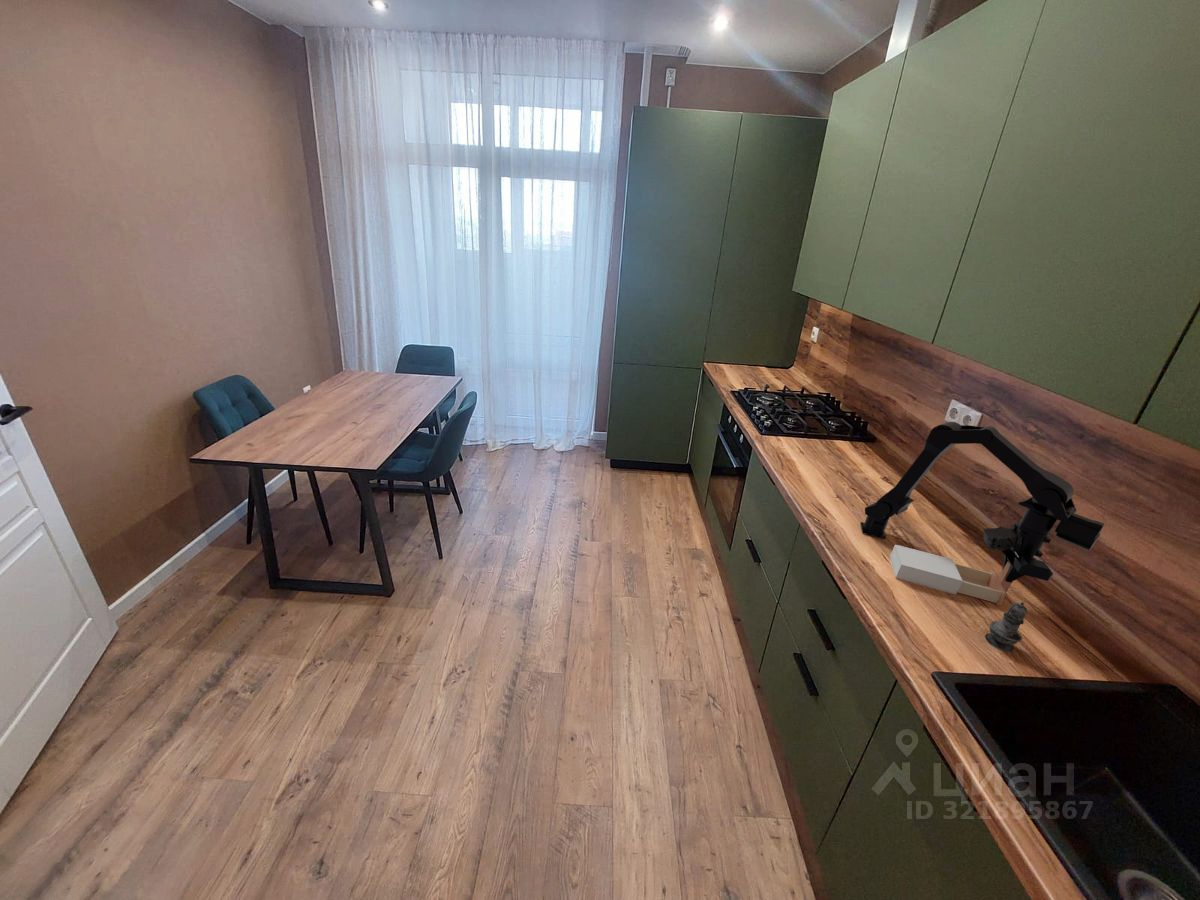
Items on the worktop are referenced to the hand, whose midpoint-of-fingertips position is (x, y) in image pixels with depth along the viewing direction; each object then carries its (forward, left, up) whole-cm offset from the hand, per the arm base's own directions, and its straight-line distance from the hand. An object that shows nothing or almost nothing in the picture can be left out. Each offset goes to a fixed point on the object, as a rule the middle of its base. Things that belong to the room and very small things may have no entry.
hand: (1005, 578), depth 122 cm
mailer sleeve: (0, -17, -6) cm, 18 cm away
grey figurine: (+20, -5, -6) cm, 21 cm away
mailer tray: (0, -7, -5) cm, 9 cm away
